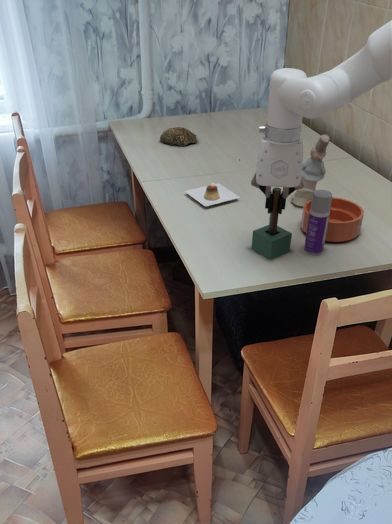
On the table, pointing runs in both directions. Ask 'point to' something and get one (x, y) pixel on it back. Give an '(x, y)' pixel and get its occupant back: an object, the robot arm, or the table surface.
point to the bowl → (338, 220)
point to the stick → (274, 211)
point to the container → (318, 222)
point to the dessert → (212, 194)
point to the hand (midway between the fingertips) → (274, 210)
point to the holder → (271, 242)
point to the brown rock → (178, 136)
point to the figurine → (312, 172)
